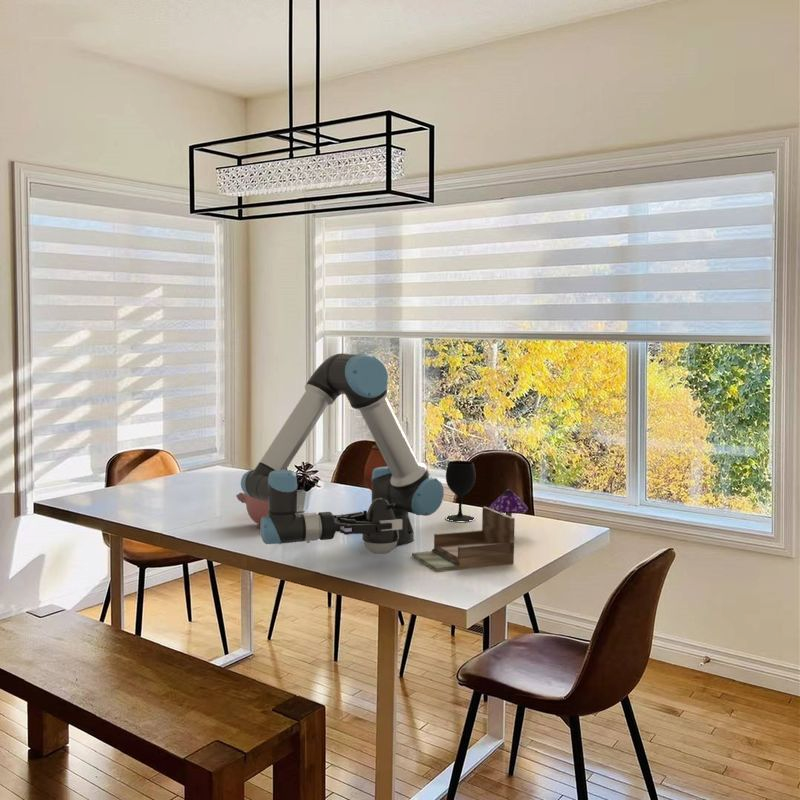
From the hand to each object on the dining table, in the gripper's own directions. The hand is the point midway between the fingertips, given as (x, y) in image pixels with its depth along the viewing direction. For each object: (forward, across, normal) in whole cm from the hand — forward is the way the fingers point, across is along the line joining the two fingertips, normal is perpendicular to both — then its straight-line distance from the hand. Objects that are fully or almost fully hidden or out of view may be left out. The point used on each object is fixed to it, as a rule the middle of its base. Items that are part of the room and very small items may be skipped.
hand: (395, 520), depth 239 cm
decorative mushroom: (+46, -20, -13) cm, 52 cm away
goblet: (+20, -59, -13) cm, 63 cm away
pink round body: (-26, -56, -12) cm, 63 cm away
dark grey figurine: (-4, 0, -9) cm, 10 cm away
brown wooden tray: (+19, +3, -12) cm, 23 cm away
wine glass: (+41, -47, -13) cm, 63 cm away
